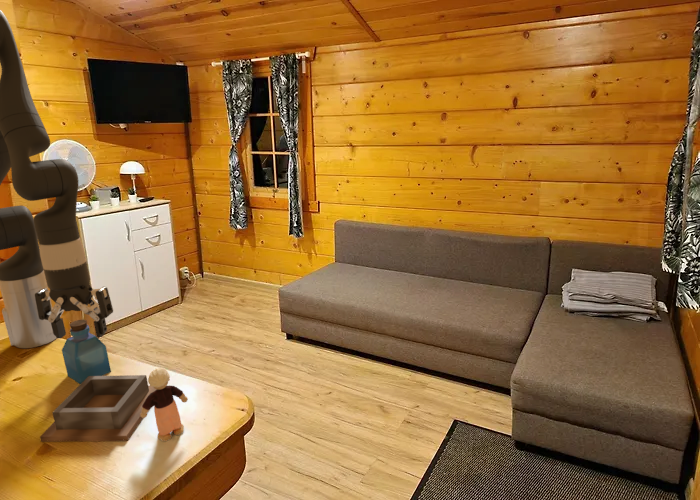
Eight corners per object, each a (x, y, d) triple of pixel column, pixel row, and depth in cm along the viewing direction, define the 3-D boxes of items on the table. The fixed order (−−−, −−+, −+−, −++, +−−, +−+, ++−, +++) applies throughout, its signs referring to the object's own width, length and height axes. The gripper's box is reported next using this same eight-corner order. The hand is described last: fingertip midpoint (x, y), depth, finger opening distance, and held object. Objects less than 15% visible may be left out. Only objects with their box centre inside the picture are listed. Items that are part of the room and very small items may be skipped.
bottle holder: (41, 441, 82) (35, 419, 81) (88, 390, 96) (84, 371, 95) (127, 440, 81) (122, 418, 80) (162, 389, 96) (159, 370, 94)
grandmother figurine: (182, 418, 87) (171, 356, 83) (194, 427, 84) (184, 363, 81) (141, 442, 81) (128, 376, 77) (153, 451, 79) (141, 384, 75)
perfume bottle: (81, 385, 98) (69, 332, 95) (67, 376, 102) (55, 324, 98) (111, 371, 103) (100, 321, 100) (96, 363, 107) (86, 314, 103)
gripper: (109, 255, 98) (123, 327, 103) (41, 257, 99) (58, 329, 104) (89, 267, 91) (105, 344, 96) (16, 269, 92) (36, 345, 96)
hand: (81, 336), depth 100 cm, fingers open, 8 cm apart
